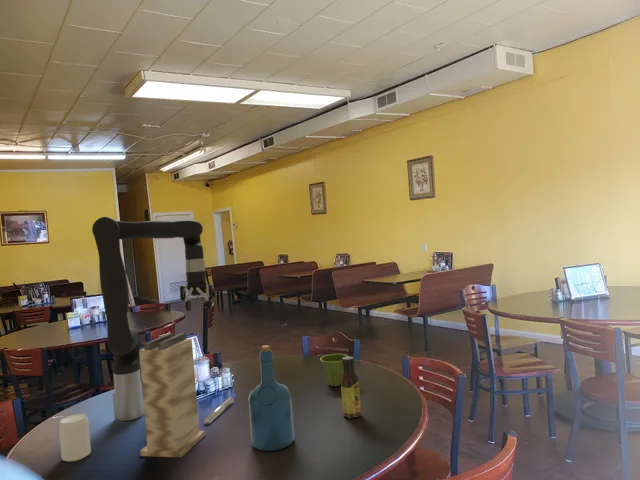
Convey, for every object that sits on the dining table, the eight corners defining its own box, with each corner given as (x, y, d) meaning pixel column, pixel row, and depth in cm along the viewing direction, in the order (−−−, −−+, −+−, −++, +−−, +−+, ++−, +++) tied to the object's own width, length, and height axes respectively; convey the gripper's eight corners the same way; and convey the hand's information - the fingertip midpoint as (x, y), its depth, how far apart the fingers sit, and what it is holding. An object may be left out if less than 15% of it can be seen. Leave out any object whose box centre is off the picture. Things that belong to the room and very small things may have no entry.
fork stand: (140, 455, 143) (130, 344, 142) (167, 434, 157) (158, 333, 157) (181, 457, 140) (172, 343, 139) (205, 435, 154) (196, 332, 154)
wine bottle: (255, 434, 151) (248, 342, 151) (296, 432, 151) (289, 339, 151) (247, 455, 138) (239, 353, 137) (292, 452, 137) (284, 350, 137)
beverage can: (69, 452, 149) (65, 414, 149) (95, 449, 150) (92, 412, 150) (56, 464, 141) (53, 425, 141) (84, 461, 142) (81, 422, 142)
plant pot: (320, 381, 200) (318, 355, 200) (348, 378, 201) (346, 352, 201) (324, 390, 188) (321, 362, 188) (353, 387, 190) (350, 359, 189)
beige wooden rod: (203, 418, 164) (204, 424, 164) (209, 418, 163) (210, 425, 163) (227, 397, 183) (228, 403, 183) (233, 397, 183) (233, 403, 183)
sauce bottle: (360, 419, 157) (355, 360, 157) (341, 419, 158) (337, 361, 158) (362, 411, 164) (358, 355, 163) (344, 411, 165) (340, 355, 164)
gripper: (174, 272, 186) (177, 312, 186) (207, 270, 183) (210, 311, 183) (184, 270, 193) (187, 309, 194) (216, 268, 190) (219, 308, 190)
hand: (198, 310), depth 188 cm, fingers open, 8 cm apart
